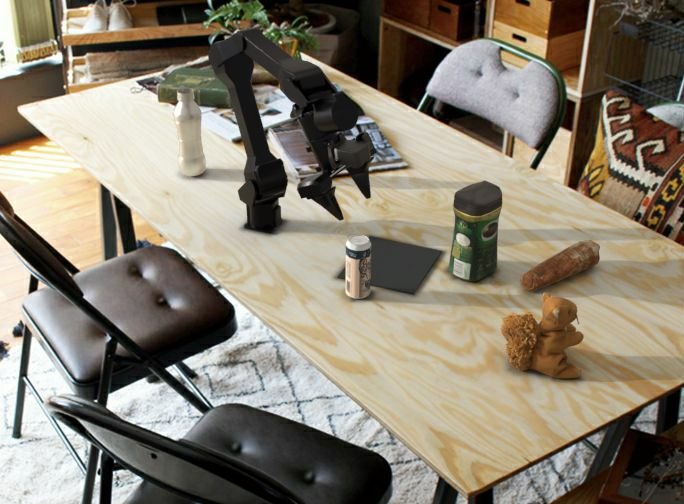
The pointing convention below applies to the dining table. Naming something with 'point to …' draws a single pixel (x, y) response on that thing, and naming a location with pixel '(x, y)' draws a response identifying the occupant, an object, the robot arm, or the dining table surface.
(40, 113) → the dining table surface
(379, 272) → the mat
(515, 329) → the stuffed squirrel
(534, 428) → the dining table surface
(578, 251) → the cassava root
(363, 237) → the beer can
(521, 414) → the dining table surface
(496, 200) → the coffee jar
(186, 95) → the plastic bottle
